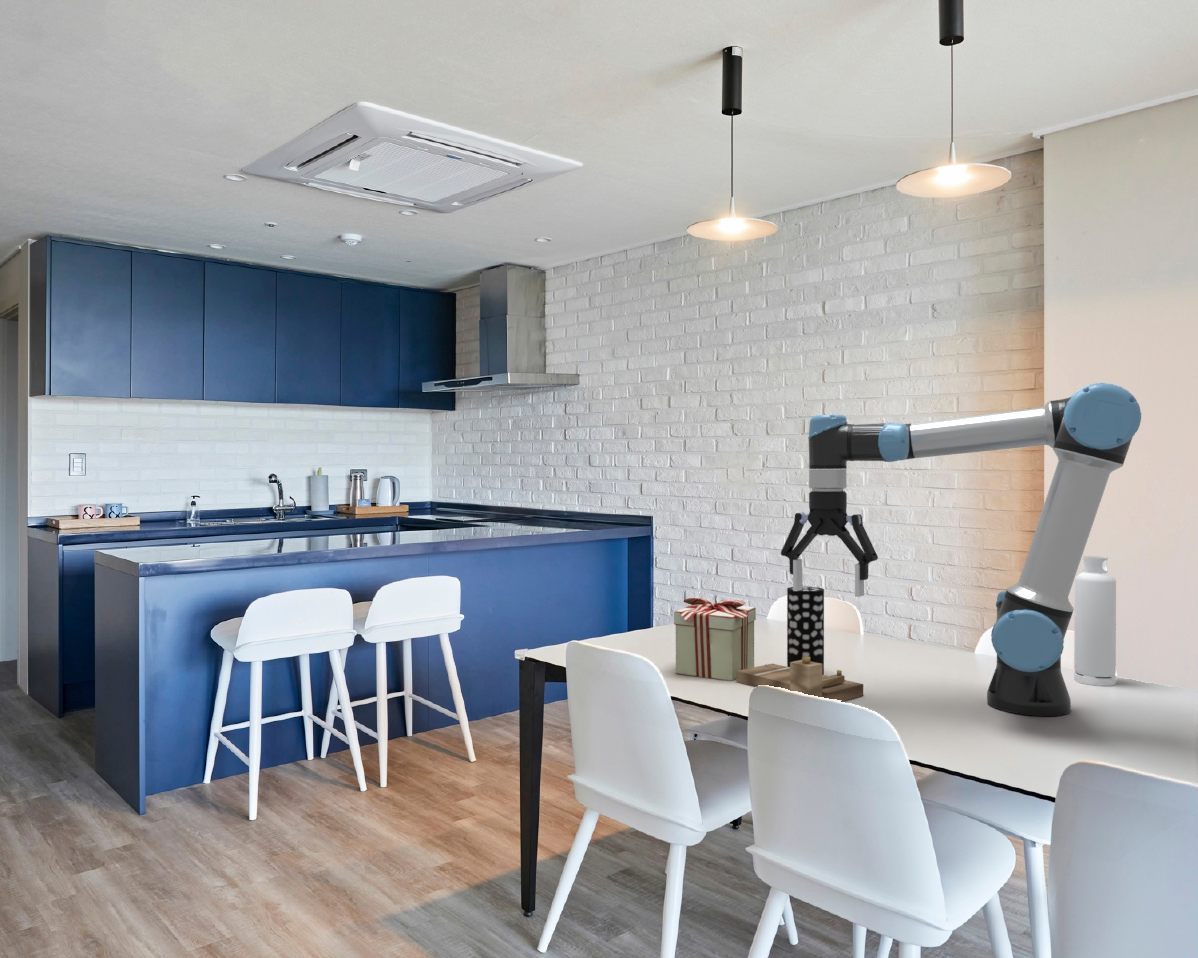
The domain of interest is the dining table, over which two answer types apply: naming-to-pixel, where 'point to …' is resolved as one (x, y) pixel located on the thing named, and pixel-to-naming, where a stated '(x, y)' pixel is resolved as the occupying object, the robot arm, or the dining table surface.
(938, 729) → the dining table surface
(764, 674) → the board
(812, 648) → the spotted tube
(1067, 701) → the robot arm
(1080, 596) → the bottle
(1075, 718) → the dining table surface
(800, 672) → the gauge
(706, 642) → the gift box
